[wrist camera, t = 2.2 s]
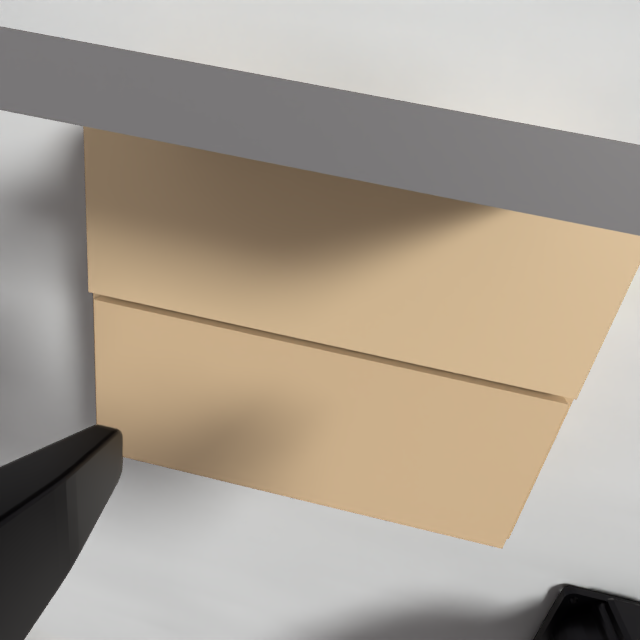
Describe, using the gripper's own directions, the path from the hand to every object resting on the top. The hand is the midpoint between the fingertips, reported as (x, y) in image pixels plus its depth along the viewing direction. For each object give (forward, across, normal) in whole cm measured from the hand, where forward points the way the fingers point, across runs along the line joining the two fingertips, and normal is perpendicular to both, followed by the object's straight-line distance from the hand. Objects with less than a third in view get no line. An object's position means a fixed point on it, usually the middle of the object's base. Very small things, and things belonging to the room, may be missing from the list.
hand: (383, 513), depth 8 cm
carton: (+14, +2, +2) cm, 14 cm away
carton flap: (+9, +2, -2) cm, 10 cm away
